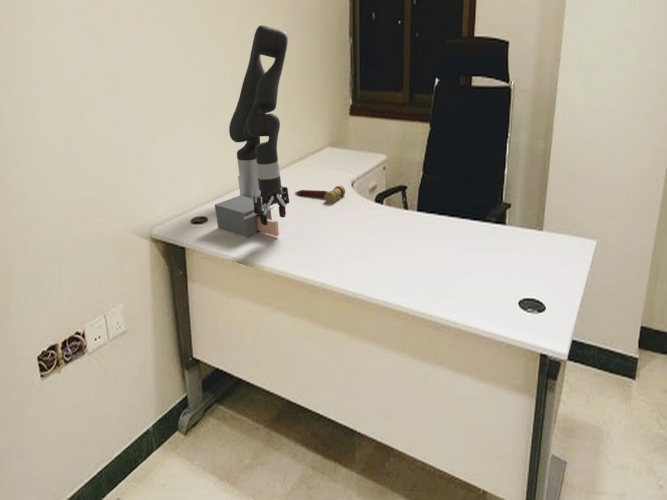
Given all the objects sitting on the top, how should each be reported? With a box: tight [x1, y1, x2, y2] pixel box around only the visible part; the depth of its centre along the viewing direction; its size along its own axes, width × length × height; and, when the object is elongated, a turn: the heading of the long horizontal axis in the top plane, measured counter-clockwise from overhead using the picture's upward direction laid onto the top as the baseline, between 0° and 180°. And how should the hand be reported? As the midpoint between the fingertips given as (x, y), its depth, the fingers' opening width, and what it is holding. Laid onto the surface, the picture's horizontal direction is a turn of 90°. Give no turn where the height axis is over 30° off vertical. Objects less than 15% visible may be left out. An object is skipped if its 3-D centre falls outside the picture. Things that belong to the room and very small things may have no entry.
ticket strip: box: [255, 215, 280, 237], centre depth 200 cm, size 23×1×5 cm, turn 50°
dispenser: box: [214, 195, 274, 238], centre depth 202 cm, size 17×13×9 cm
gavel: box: [294, 185, 346, 204], centre depth 231 cm, size 21×5×10 cm
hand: (273, 220), depth 193 cm, fingers open, 8 cm apart
